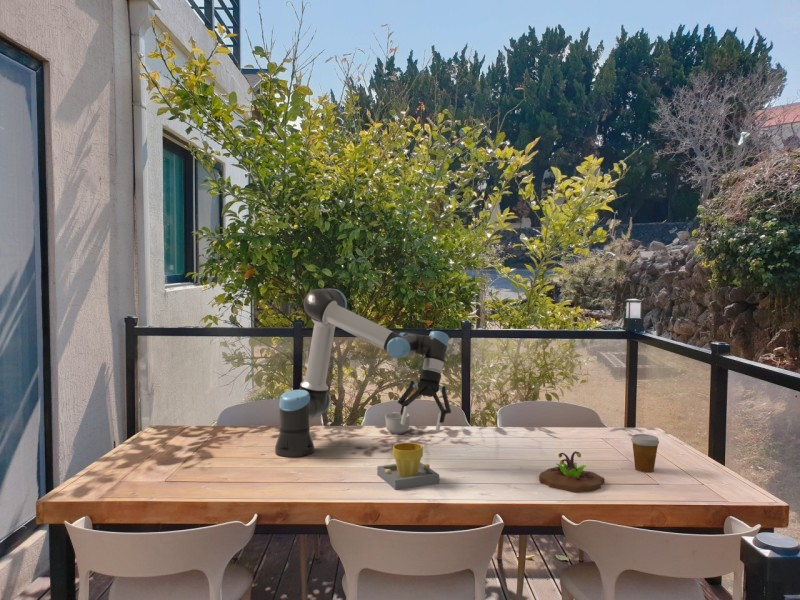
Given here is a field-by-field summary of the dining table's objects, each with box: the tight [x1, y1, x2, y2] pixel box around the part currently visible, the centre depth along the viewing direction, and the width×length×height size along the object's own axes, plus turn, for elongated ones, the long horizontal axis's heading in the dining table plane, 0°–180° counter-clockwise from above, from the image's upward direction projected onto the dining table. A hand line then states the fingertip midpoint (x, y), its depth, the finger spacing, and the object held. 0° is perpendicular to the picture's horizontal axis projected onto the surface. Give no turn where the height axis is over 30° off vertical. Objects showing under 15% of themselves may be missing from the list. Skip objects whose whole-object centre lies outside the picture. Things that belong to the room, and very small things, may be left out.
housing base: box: [376, 461, 440, 490], centre depth 209 cm, size 16×16×4 cm
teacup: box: [384, 411, 410, 435], centre depth 273 cm, size 14×11×8 cm
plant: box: [538, 451, 606, 494], centre depth 207 cm, size 20×20×11 cm
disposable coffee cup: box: [630, 433, 660, 473], centre depth 221 cm, size 10×10×12 cm
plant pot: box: [392, 442, 424, 477], centre depth 209 cm, size 10×10×10 cm
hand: (419, 427), depth 224 cm, fingers open, 13 cm apart
